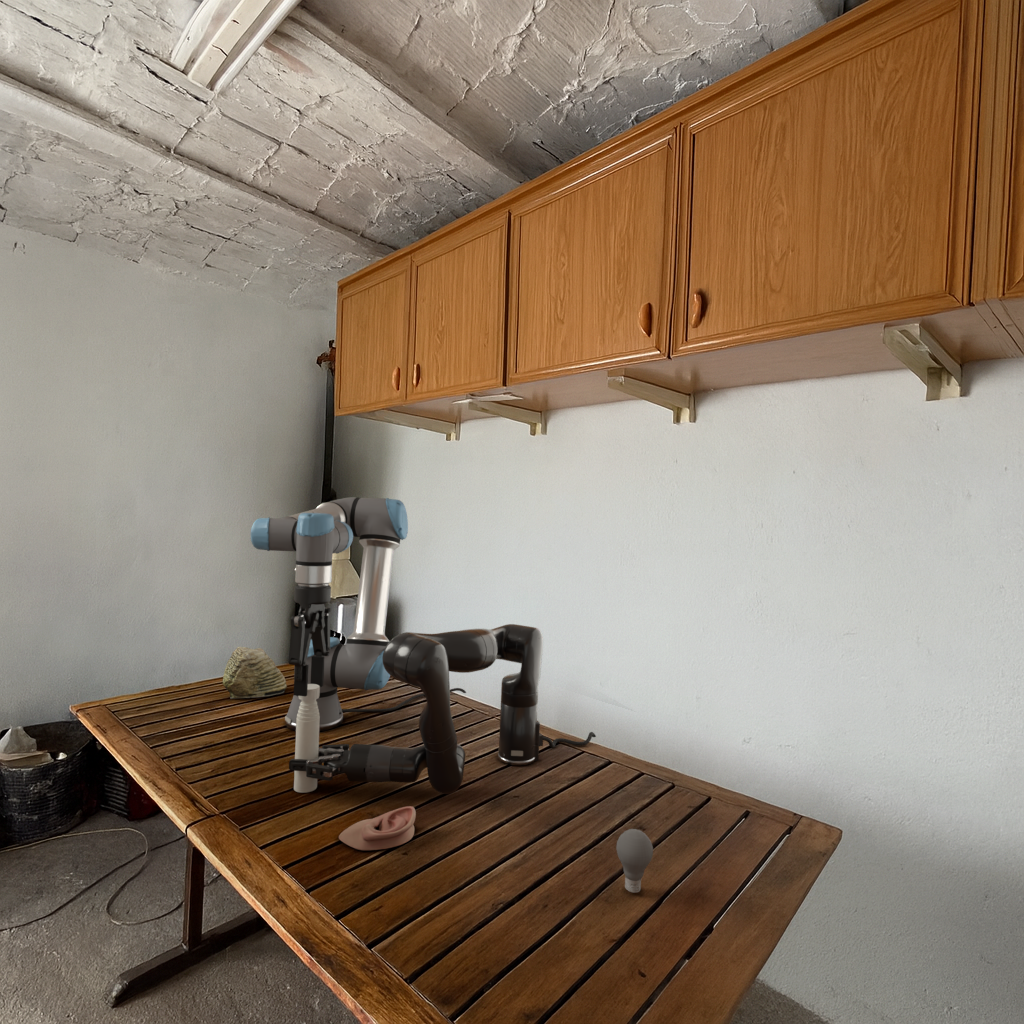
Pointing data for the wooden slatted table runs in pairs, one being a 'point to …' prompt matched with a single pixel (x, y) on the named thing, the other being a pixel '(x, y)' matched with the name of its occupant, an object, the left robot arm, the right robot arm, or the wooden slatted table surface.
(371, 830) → the anatomical model
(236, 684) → the fossil
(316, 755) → the bottle
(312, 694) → the cap
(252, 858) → the wooden slatted table surface
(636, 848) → the light bulb
